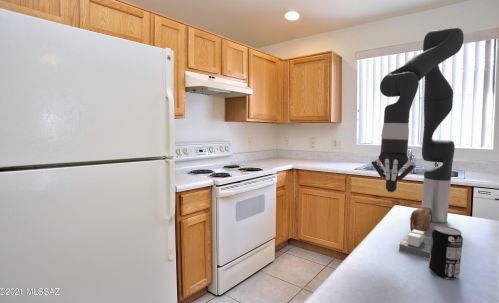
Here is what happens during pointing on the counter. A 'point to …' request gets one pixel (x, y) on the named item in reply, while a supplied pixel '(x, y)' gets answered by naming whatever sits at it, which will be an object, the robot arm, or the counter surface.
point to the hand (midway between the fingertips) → (390, 191)
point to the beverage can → (446, 252)
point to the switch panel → (419, 251)
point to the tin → (421, 219)
